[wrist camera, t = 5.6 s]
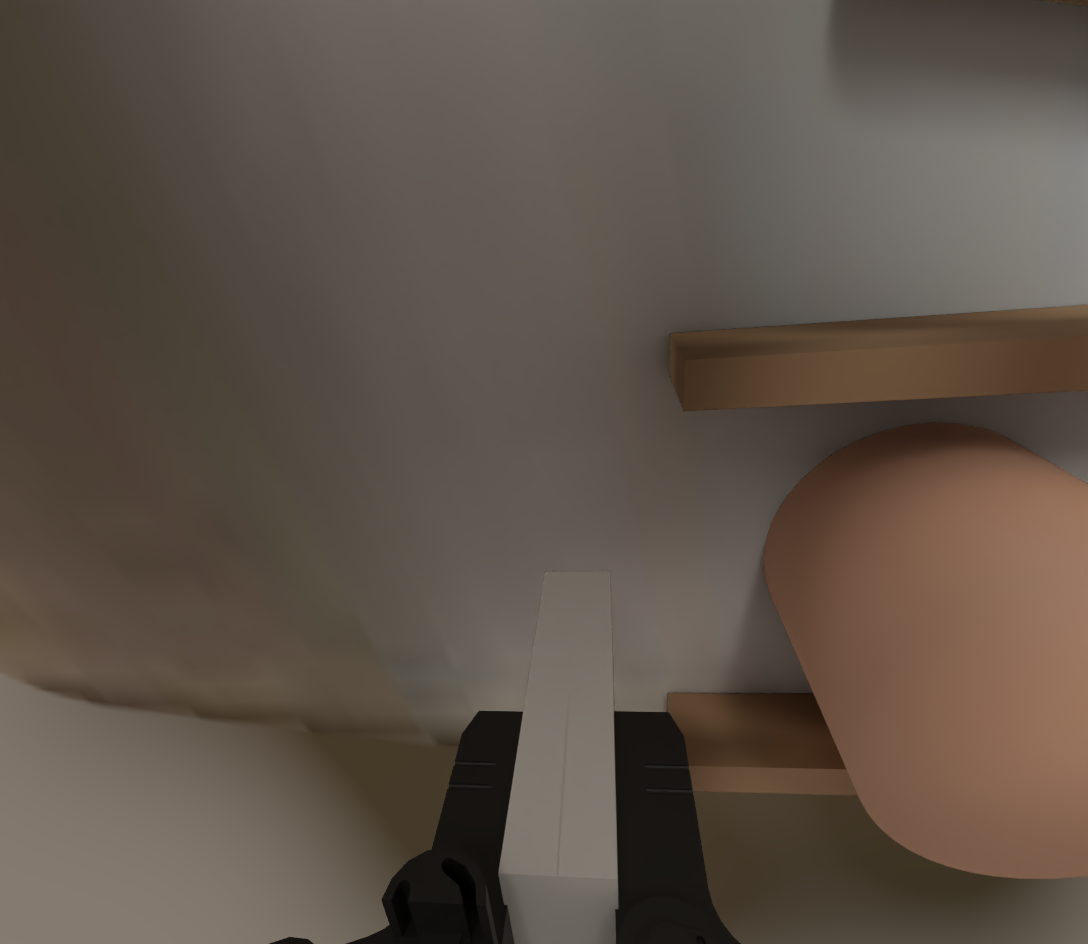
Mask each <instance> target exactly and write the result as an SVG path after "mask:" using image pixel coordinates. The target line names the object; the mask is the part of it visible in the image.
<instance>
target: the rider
mask: <svg viewBox="0 0 1088 944" xmlns="http://www.w3.org/2000/svg"><path fill="white" fill-rule="evenodd" d="M764 572H765V579H766V583H767V586H768V589H769V592H770V595H771V597H772V599H773V602H774V604H775V606H776V608H777V611H778V613H779V615H780V618H781V620H782V622H783V625H784V627H785V629H786V631H787V634H788V636H789V638H790V641H791V643H792V645H793V647H794V650H795V652H796V654H797V657H798V659H799V661H800V664H801V666H802V668H803V670H804V673H805V675H806V677H807V680H808V682H809V684H810V687H811V689H812V691H813V693H814V696H815V698H816V700H817V703H818V705H819V707H820V709H821V712H822V714H823V716H824V719H825V721H826V723H827V726H828V728H829V730H830V732H831V735H832V737H833V739H834V742H835V744H836V746H837V749H838V751H839V753H840V755H841V758H842V760H843V762H844V765H845V767H846V769H847V771H848V774H849V776H850V778H851V781H852V783H853V785H854V788H855V790H856V792H857V794H858V796H859V799H860V801H861V802H862V804H863V806H864V808H865V810H866V811H867V813H868V815H869V816H870V817H871V818H872V819H873V821H874V822H875V823H876V824H877V825H878V827H879V828H880V829H882V830H883V831H884V832H885V833H886V834H887V835H889V836H890V837H891V838H892V839H893V840H894V841H896V842H898V843H899V844H901V845H902V846H904V847H905V848H907V849H908V850H910V851H912V852H914V853H916V854H918V855H921V856H922V857H924V858H926V859H929V860H931V861H934V862H937V863H940V864H943V865H945V866H948V867H952V868H956V869H960V870H964V871H968V872H972V873H977V874H983V875H990V876H996V877H1007V878H1008V877H1009V878H1021V879H1055V878H1070V877H1081V876H1088V484H1087V483H1085V482H1084V481H1082V480H1080V479H1078V478H1077V477H1075V476H1073V475H1071V474H1070V473H1068V472H1066V471H1064V470H1063V469H1061V468H1059V467H1057V466H1056V465H1054V464H1052V463H1050V462H1049V461H1047V460H1045V459H1043V458H1042V457H1040V456H1038V455H1036V454H1035V453H1033V452H1031V451H1029V450H1028V449H1026V448H1024V447H1022V446H1021V445H1019V444H1017V443H1015V442H1014V441H1012V440H1010V439H1008V438H1006V437H1004V436H1002V435H999V434H997V433H995V432H992V431H989V430H986V429H982V428H978V427H974V426H969V425H962V424H954V423H926V424H916V425H908V426H904V427H899V428H894V429H890V430H886V431H883V432H880V433H877V434H874V435H871V436H868V437H866V438H864V439H861V440H859V441H857V442H855V443H852V444H850V445H848V446H846V447H845V448H843V449H841V450H840V451H838V452H836V453H834V454H833V455H831V456H830V457H828V458H827V459H825V460H824V461H823V462H821V463H820V464H819V465H817V466H816V467H815V468H813V469H812V470H811V471H810V472H809V473H808V474H807V475H806V476H805V477H804V478H802V479H801V480H800V481H799V483H798V484H797V485H796V486H795V487H794V488H793V490H792V491H791V492H790V493H789V494H788V496H787V497H786V499H785V500H784V502H783V503H782V505H781V506H780V508H779V509H778V511H777V513H776V515H775V517H774V519H773V521H772V523H771V526H770V529H769V532H768V535H767V538H766V544H765V550H764Z"/></svg>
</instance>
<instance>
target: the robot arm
mask: <svg viewBox="0 0 1088 944" xmlns="http://www.w3.org/2000/svg"><path fill="white" fill-rule="evenodd" d="M382 903H383V906H384V909H385V912H386V915H387V918H388V921H389V923H390V925H389V926H387V927H386V928H385V929H383V930H381V931H379V932H377V933H374V934H372V935H370V936H368V937H365V938H362V939H359V940H356V941H353V942H350V943H347V944H741V943H739V942H738V941H737V940H736V939H735V938H734V937H733V936H732V935H731V933H730V932H729V931H728V930H727V928H726V927H725V926H724V925H723V923H722V922H721V920H720V918H719V916H718V914H717V912H716V910H715V908H714V906H713V904H712V900H711V897H710V893H709V889H708V885H707V878H706V871H705V865H704V858H703V852H702V846H701V840H700V833H699V827H698V821H697V815H696V808H695V801H694V796H693V789H692V782H691V776H690V771H689V763H688V757H687V750H686V744H685V738H684V735H683V734H682V732H681V731H680V729H679V727H678V726H677V724H676V723H675V721H674V720H673V718H672V716H671V715H670V713H669V712H621V711H615V705H614V668H613V639H612V612H611V585H610V571H575V572H545V574H544V581H543V587H542V594H541V600H540V607H539V613H538V620H537V626H536V633H535V639H534V645H533V652H532V658H531V665H530V671H529V678H528V684H527V691H526V697H525V704H524V710H523V712H516V711H479V712H478V713H477V714H476V716H475V717H474V718H473V720H472V721H471V722H470V724H469V725H468V727H467V728H466V729H465V731H464V732H463V733H462V736H461V740H460V744H459V748H458V751H457V755H456V759H455V766H454V767H453V771H452V774H451V778H450V782H449V789H447V793H446V797H445V801H444V804H443V808H442V812H441V816H440V820H439V824H438V827H437V831H436V835H435V839H434V842H433V846H432V850H428V851H426V852H424V853H422V854H420V855H418V856H417V857H415V858H413V859H411V860H409V861H408V862H407V863H406V864H405V865H404V866H403V867H402V868H401V869H400V870H399V871H398V872H397V874H396V875H395V876H394V877H393V878H392V879H391V881H390V883H389V886H388V888H387V890H386V892H385V894H384V896H383V898H382ZM270 944H313V943H312V942H311V941H310V940H308V939H302V938H294V937H288V938H286V939H282V940H279V941H276V942H273V943H270Z"/></svg>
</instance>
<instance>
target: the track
mask: <svg viewBox="0 0 1088 944" xmlns="http://www.w3.org/2000/svg"><path fill="white" fill-rule="evenodd" d="M670 378H671V381H672V383H673V386H674V388H675V391H676V393H677V396H678V398H679V401H680V403H681V406H682V408H683V411H697V410H717V409H736V408H756V407H775V406H794V405H814V404H833V403H853V402H872V401H891V400H911V399H930V398H950V397H969V396H989V395H1008V394H1027V393H1047V392H1066V391H1086V390H1088V305H1078V306H1064V307H1049V308H1034V309H1019V310H1005V311H990V312H975V313H960V314H946V315H931V316H916V317H901V318H887V319H872V320H857V321H842V322H828V323H813V324H798V325H783V326H769V327H754V328H739V329H724V330H710V331H695V332H680V333H670ZM667 712H669V713H670V715H671V716H672V718H673V720H674V721H675V723H676V724H677V726H678V727H679V729H680V731H681V732H682V734H683V735H684V738H685V744H686V750H687V757H688V763H689V771H690V776H691V782H692V789H693V791H705V792H742V793H743V792H744V793H779V794H816V795H854V796H855V795H856V796H858V794H857V792H856V790H855V788H854V785H853V783H852V781H851V778H850V776H849V774H848V771H847V769H846V767H845V765H844V762H843V760H842V758H841V755H840V753H839V751H838V749H837V746H836V744H835V742H834V739H833V737H832V735H831V732H830V730H829V728H828V726H827V723H826V721H825V719H824V716H823V714H822V712H821V709H820V707H819V705H818V703H817V700H816V698H815V696H814V694H702V693H668V707H667Z"/></svg>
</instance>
